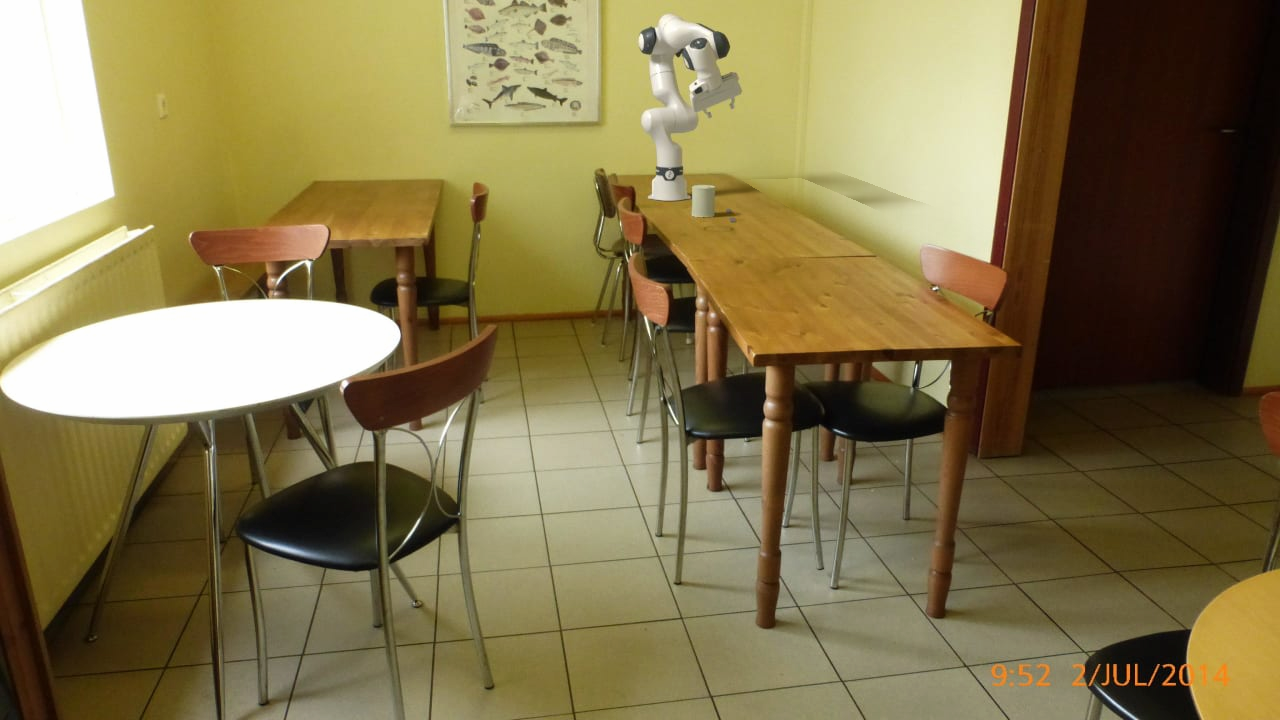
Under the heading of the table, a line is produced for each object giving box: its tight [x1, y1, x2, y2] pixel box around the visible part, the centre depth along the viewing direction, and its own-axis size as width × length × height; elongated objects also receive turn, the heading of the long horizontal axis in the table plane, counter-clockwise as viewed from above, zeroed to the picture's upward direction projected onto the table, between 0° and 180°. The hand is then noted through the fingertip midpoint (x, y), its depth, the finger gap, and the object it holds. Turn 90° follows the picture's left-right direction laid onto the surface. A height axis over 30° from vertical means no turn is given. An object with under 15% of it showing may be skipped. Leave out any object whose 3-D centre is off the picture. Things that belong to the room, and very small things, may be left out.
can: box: [691, 184, 716, 218], centre depth 368 cm, size 9×9×12 cm
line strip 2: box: [729, 217, 737, 223], centre depth 360 cm, size 8×2×1 cm, turn 179°
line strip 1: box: [725, 208, 733, 214], centre depth 380 cm, size 8×2×1 cm, turn 179°
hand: (721, 112), depth 366 cm, fingers open, 8 cm apart
